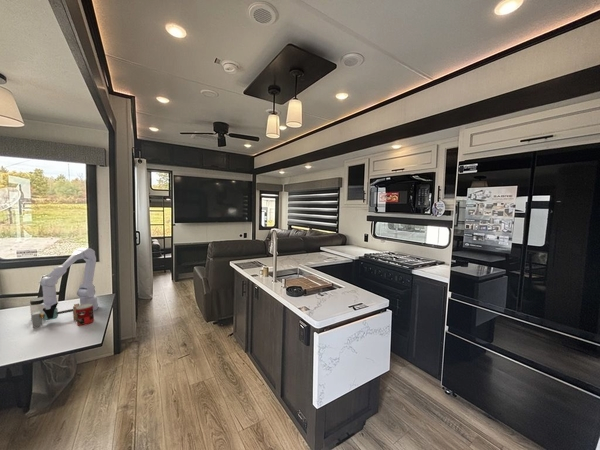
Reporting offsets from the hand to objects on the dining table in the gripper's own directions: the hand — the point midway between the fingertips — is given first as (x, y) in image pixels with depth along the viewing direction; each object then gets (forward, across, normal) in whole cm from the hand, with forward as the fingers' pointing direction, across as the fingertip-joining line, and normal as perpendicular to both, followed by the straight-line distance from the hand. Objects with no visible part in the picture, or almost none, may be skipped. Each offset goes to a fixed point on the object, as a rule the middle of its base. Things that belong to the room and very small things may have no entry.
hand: (51, 316), depth 153 cm
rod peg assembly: (+4, 0, +3) cm, 5 cm away
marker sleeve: (+1, 0, 0) cm, 1 cm away
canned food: (+4, +13, +17) cm, 22 cm away
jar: (+4, -17, -8) cm, 19 cm away
